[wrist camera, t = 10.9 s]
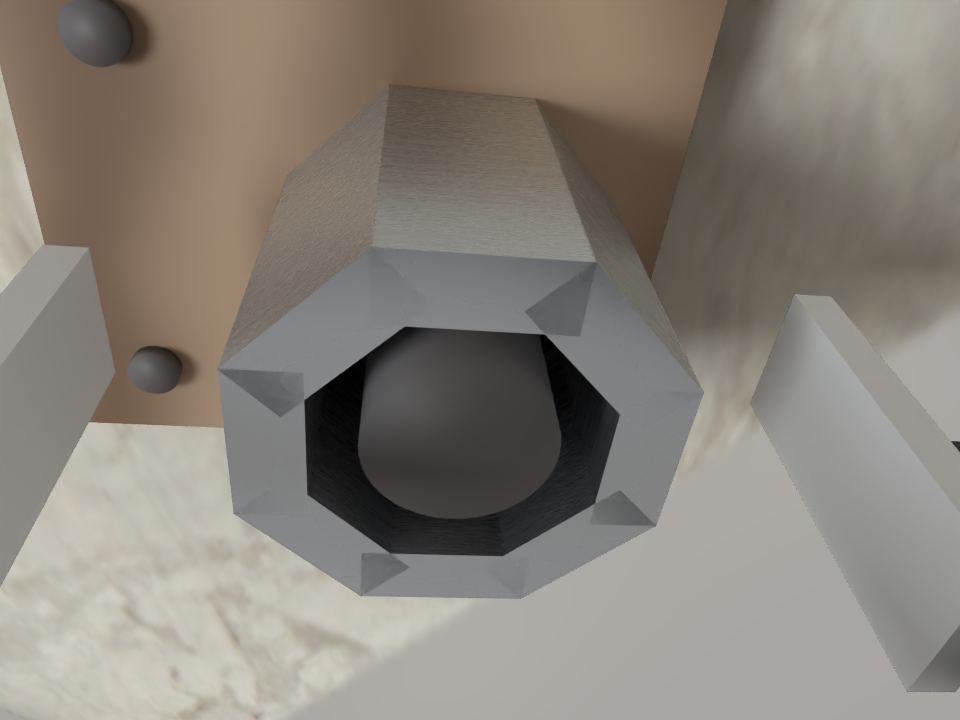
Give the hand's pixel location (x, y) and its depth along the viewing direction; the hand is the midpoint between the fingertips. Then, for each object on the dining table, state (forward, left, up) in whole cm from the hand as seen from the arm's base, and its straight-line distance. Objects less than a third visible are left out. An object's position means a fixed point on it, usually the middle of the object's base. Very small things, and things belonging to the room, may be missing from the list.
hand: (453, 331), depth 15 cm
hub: (0, 0, -4) cm, 4 cm away
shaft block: (-2, 0, -6) cm, 6 cm away
